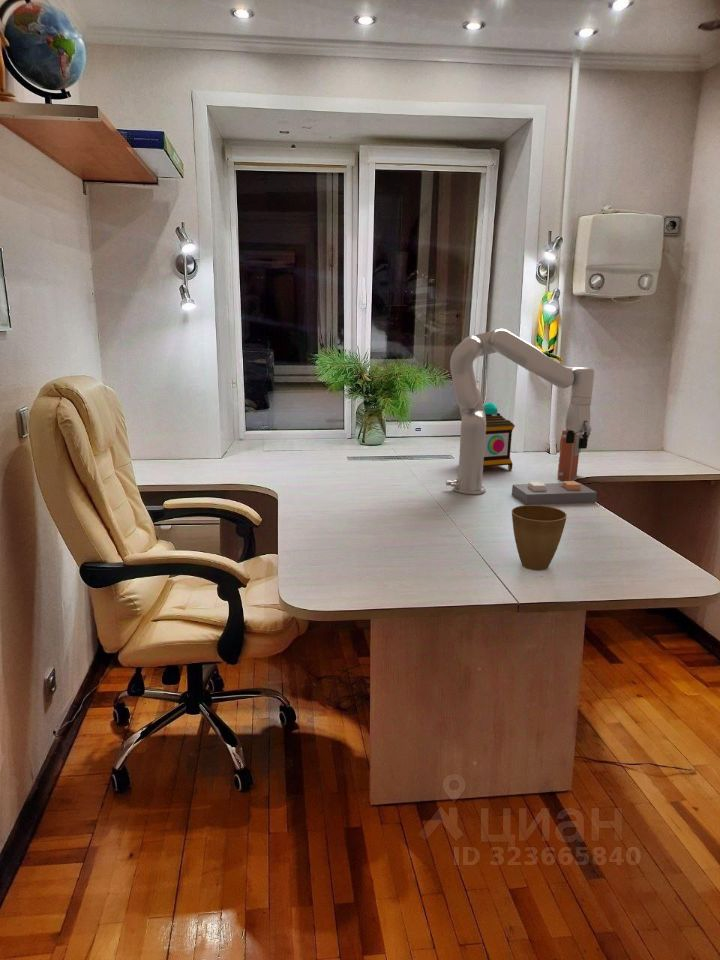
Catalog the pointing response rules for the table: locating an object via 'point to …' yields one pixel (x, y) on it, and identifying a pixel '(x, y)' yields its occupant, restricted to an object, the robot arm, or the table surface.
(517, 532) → the plant pot
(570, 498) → the keypad housing
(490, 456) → the decorative lantern
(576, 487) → the orange key
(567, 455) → the orange box
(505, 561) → the table surface
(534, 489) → the ivory key
